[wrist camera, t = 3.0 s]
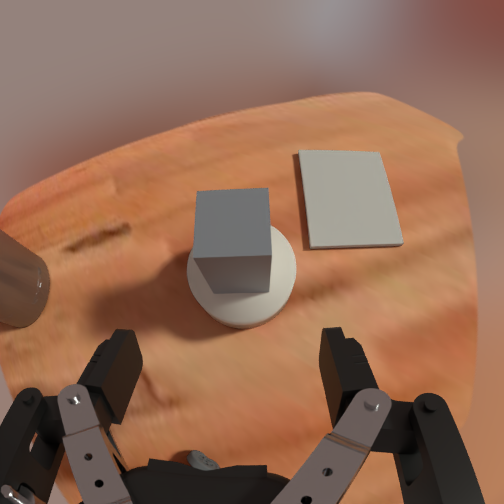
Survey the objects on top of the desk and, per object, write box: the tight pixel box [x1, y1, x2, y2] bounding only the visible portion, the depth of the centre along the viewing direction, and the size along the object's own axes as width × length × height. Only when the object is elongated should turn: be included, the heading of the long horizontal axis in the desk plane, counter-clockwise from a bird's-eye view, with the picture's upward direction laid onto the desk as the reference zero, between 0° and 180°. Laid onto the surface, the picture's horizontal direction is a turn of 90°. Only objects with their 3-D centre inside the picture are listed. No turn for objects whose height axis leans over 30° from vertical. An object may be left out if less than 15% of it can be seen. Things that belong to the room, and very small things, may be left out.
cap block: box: [193, 188, 272, 294], centre depth 22 cm, size 4×4×8 cm
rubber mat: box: [298, 150, 404, 249], centre depth 32 cm, size 10×12×1 cm
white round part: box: [187, 225, 296, 329], centre depth 27 cm, size 9×9×4 cm
